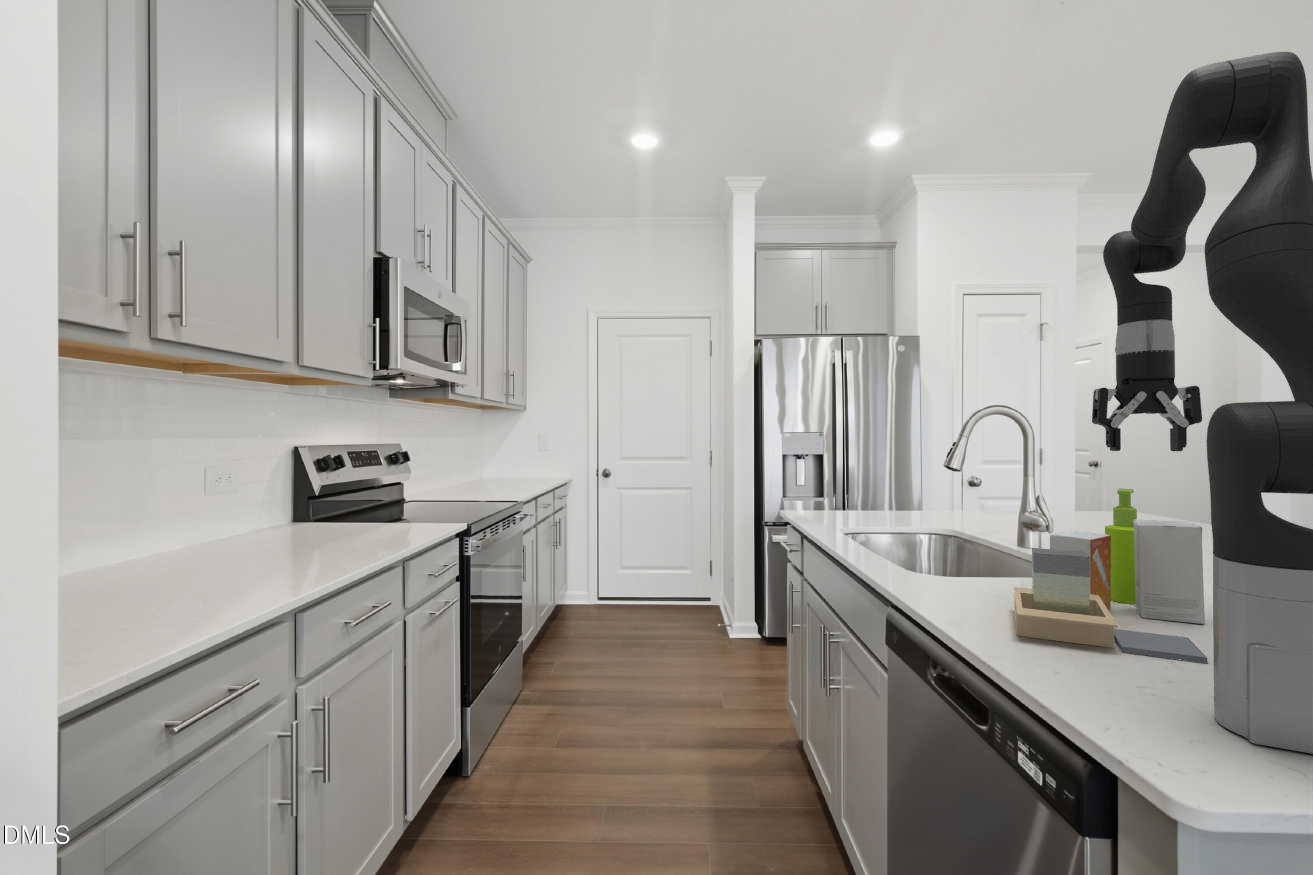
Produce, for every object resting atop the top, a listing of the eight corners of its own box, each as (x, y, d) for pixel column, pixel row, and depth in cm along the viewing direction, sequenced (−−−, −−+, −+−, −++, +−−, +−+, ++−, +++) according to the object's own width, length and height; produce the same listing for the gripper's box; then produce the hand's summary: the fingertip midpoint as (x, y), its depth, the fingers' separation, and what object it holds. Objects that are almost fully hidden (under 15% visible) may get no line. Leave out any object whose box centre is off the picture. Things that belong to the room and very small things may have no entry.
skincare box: (1197, 615, 100) (1196, 521, 100) (1206, 626, 95) (1205, 526, 95) (1133, 608, 105) (1132, 517, 105) (1138, 618, 99) (1137, 522, 99)
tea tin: (1090, 638, 90) (1089, 556, 90) (1033, 631, 93) (1033, 552, 93) (1086, 629, 94) (1085, 551, 94) (1032, 622, 97) (1031, 547, 97)
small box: (1091, 619, 99) (1090, 539, 99) (1048, 610, 104) (1048, 534, 104) (1112, 610, 103) (1111, 534, 103) (1070, 602, 109) (1070, 529, 109)
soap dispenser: (1148, 598, 111) (1147, 488, 111) (1144, 606, 106) (1143, 491, 106) (1108, 592, 115) (1107, 487, 115) (1103, 600, 110) (1102, 489, 110)
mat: (1207, 663, 79) (1207, 657, 79) (1121, 652, 84) (1121, 646, 84) (1188, 642, 87) (1188, 637, 87) (1110, 633, 92) (1110, 628, 92)
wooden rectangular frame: (1118, 654, 83) (1117, 625, 83) (1017, 641, 89) (1017, 613, 89) (1098, 619, 98) (1098, 595, 98) (1014, 610, 104) (1013, 586, 104)
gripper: (1104, 350, 97) (1105, 451, 97) (1211, 346, 94) (1212, 451, 94) (1084, 356, 105) (1085, 450, 104) (1183, 353, 101) (1184, 451, 101)
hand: (1145, 451), depth 99 cm, fingers open, 8 cm apart
